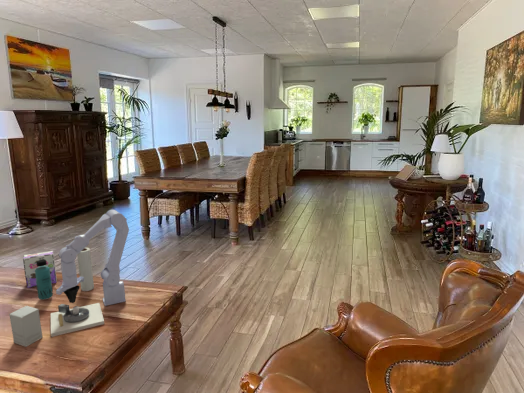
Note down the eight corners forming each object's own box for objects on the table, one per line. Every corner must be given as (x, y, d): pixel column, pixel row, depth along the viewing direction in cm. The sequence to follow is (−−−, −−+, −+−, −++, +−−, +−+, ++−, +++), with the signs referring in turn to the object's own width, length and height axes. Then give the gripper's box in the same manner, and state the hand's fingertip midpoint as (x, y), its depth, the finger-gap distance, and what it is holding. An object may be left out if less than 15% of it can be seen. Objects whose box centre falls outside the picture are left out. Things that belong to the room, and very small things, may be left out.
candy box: (26, 288, 195) (22, 258, 192) (27, 283, 200) (23, 254, 197) (56, 282, 201) (53, 253, 198) (56, 278, 206) (53, 250, 203)
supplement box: (43, 337, 153) (39, 308, 150) (25, 347, 146) (21, 317, 143) (31, 333, 156) (26, 305, 153) (13, 342, 149) (8, 313, 146)
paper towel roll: (88, 292, 191) (84, 252, 186) (78, 290, 193) (73, 250, 188) (98, 286, 198) (94, 247, 193) (88, 284, 199) (84, 246, 195)
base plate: (99, 305, 178) (98, 292, 176) (104, 324, 162) (102, 310, 161) (51, 316, 168) (49, 302, 167) (51, 336, 153) (49, 322, 152)
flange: (94, 312, 168) (93, 303, 167) (77, 324, 159) (76, 315, 158) (69, 308, 172) (68, 299, 171) (51, 319, 163) (50, 310, 162)
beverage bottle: (35, 301, 182) (29, 262, 178) (47, 295, 188) (42, 257, 184) (44, 303, 180) (39, 264, 175) (57, 297, 186) (52, 259, 181)
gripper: (74, 266, 176) (77, 293, 179) (48, 279, 162) (52, 308, 165) (86, 268, 174) (89, 295, 177) (62, 281, 160) (65, 311, 163)
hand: (72, 302), depth 171 cm, fingers closed
